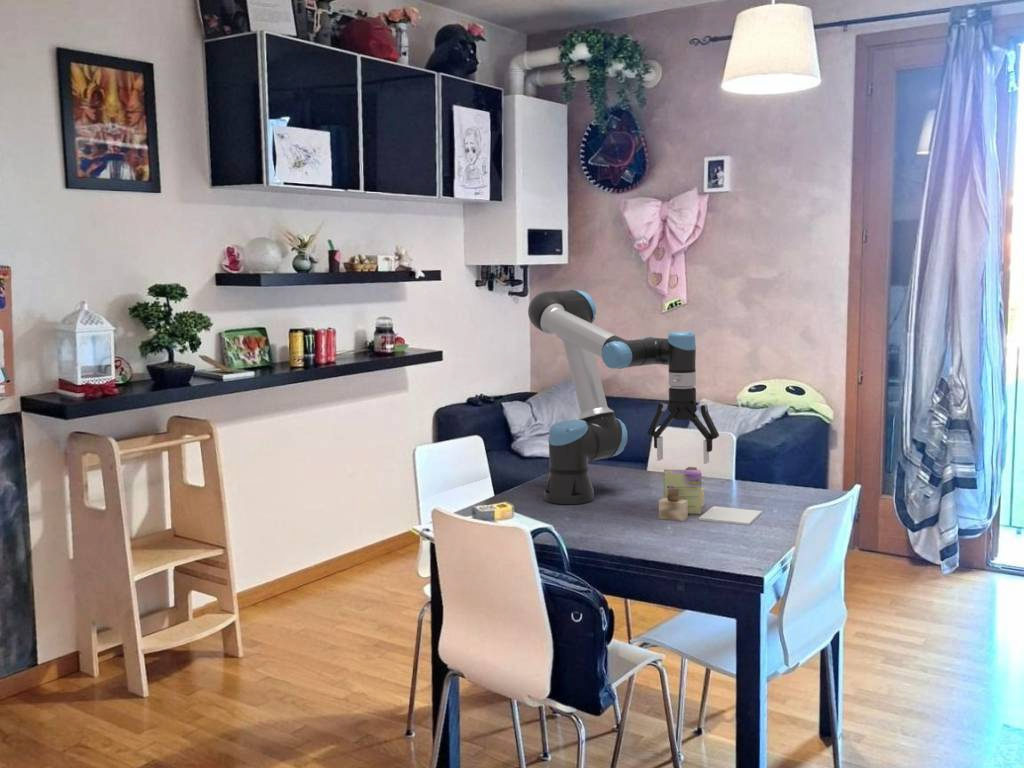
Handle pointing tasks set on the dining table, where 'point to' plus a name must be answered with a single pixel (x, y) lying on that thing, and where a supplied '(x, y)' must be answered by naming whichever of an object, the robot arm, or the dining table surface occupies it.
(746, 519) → the pad
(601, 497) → the dining table surface
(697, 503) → the box
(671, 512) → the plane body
